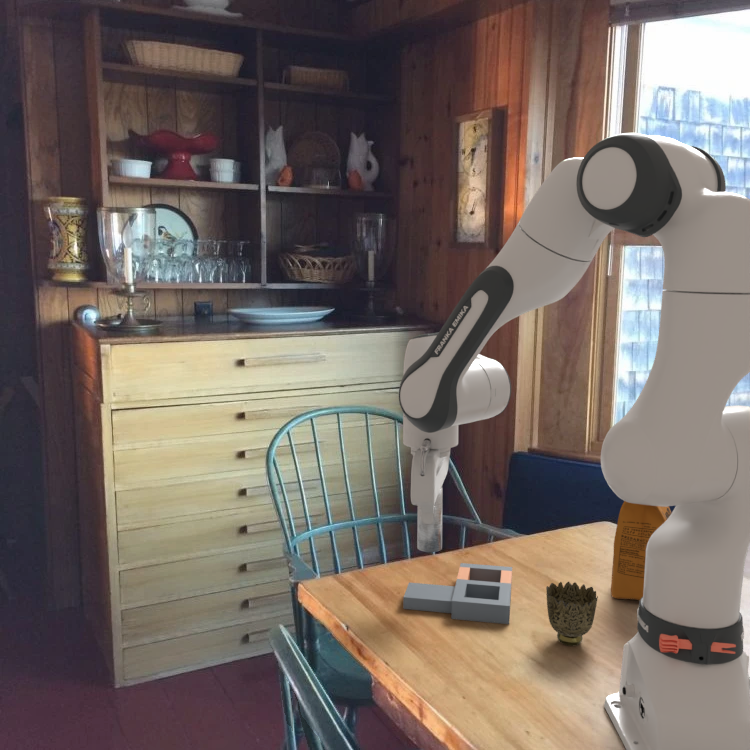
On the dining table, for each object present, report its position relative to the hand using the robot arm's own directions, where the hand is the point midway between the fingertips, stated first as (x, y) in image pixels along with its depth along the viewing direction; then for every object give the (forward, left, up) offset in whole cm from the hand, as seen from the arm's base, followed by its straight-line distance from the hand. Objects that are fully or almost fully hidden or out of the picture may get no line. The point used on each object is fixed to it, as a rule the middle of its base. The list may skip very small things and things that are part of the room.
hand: (430, 517), depth 129 cm
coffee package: (+12, -35, -15) cm, 40 cm away
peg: (0, 0, -5) cm, 5 cm away
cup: (-9, -22, -15) cm, 28 cm away
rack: (+3, -5, -15) cm, 16 cm away
